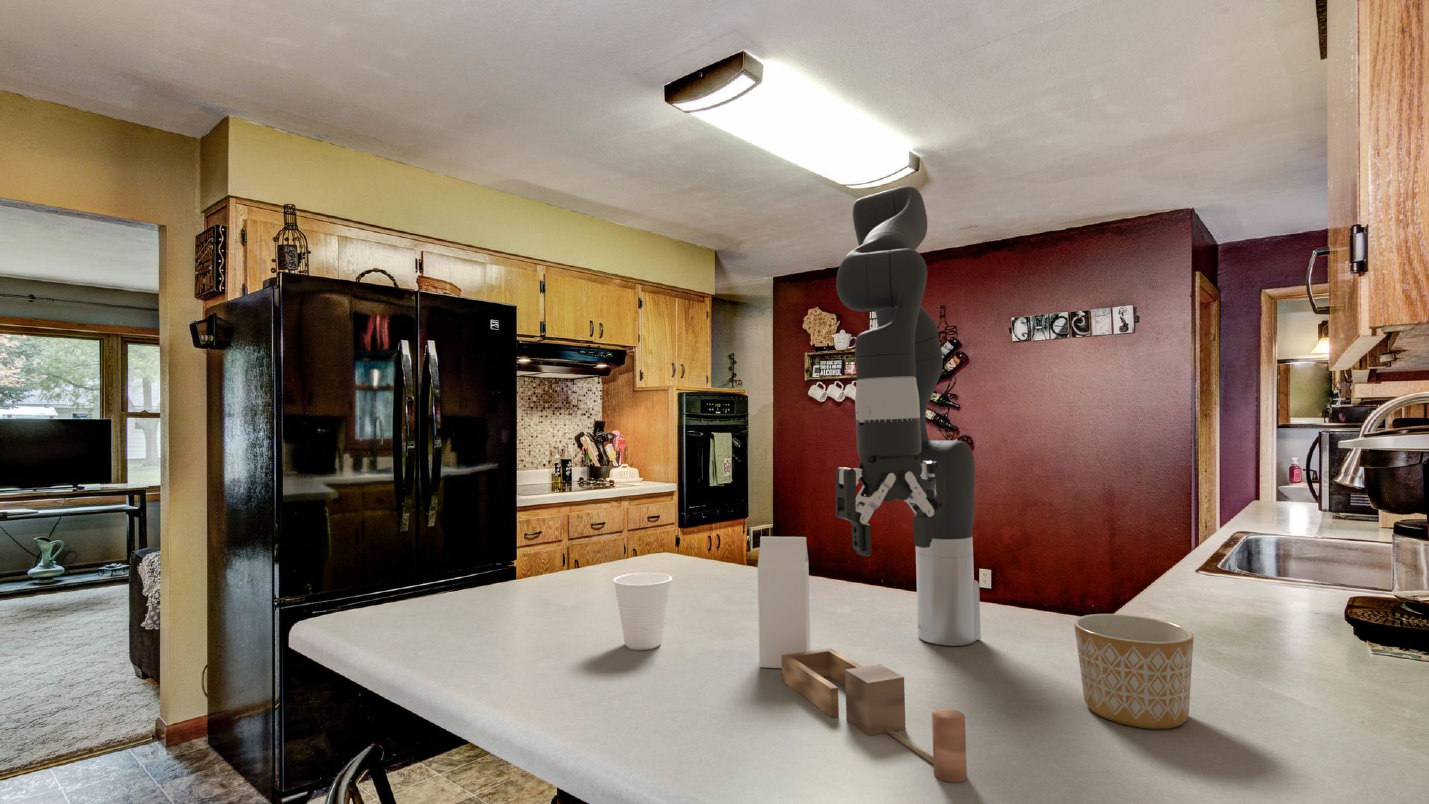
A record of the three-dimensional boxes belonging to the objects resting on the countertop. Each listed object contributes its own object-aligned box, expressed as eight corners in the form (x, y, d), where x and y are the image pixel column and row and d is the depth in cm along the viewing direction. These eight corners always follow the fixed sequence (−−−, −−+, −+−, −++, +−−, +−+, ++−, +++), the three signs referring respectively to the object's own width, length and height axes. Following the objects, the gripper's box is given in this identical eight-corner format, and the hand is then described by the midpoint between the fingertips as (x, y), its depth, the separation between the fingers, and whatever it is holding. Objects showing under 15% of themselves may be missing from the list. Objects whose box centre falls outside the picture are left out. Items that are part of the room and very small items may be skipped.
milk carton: (807, 670, 103) (804, 540, 104) (759, 668, 104) (756, 540, 105) (810, 655, 110) (807, 533, 111) (765, 653, 111) (763, 533, 112)
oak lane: (781, 680, 99) (781, 655, 99) (831, 672, 102) (831, 648, 102) (831, 717, 86) (831, 688, 86) (887, 707, 89) (886, 679, 89)
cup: (602, 650, 114) (601, 582, 115) (631, 633, 123) (630, 571, 124) (656, 657, 110) (655, 586, 111) (682, 639, 120) (681, 574, 120)
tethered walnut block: (846, 719, 85) (845, 669, 86) (881, 712, 87) (879, 664, 87) (940, 786, 69) (938, 724, 69) (980, 777, 71) (979, 717, 71)
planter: (1200, 744, 77) (1196, 648, 78) (1072, 720, 84) (1069, 632, 84) (1194, 705, 88) (1190, 621, 88) (1081, 687, 95) (1078, 609, 95)
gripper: (915, 414, 91) (921, 540, 90) (820, 418, 85) (825, 552, 85) (956, 413, 84) (962, 549, 83) (855, 418, 78) (861, 563, 78)
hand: (893, 550), depth 84 cm, fingers open, 8 cm apart
